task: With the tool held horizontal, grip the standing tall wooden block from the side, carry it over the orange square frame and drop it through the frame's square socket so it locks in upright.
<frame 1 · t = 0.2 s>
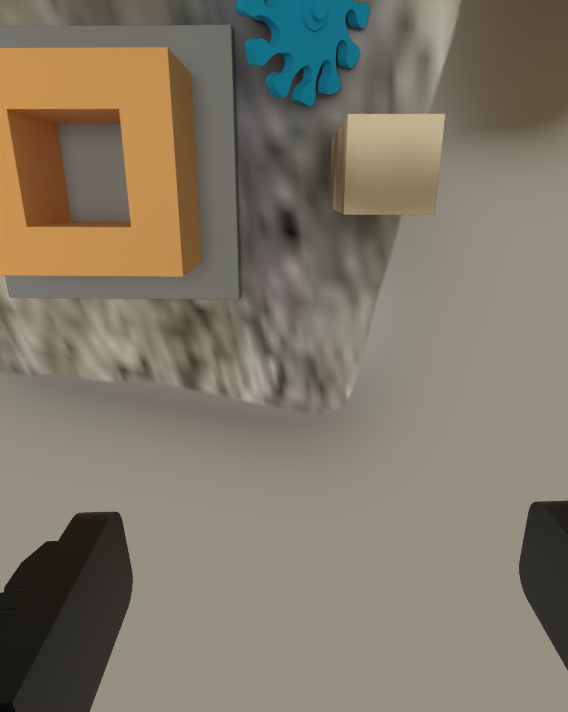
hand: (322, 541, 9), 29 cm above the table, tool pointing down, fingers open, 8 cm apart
orange square frame: (114, 174, 34), on the table
gear: (309, 22, 31), on the table
tall wooden block: (361, 175, 34), on the table
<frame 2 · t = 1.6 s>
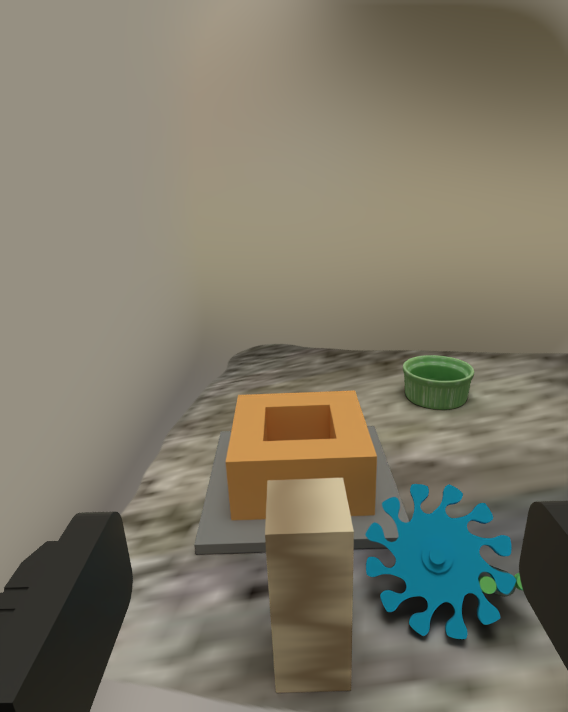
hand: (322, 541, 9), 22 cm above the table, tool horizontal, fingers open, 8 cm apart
orange square frame: (300, 483, 47), on the table
gear: (440, 600, 34), on the table
ramekin: (435, 398, 64), on the table
tall wooden block: (311, 655, 30), on the table
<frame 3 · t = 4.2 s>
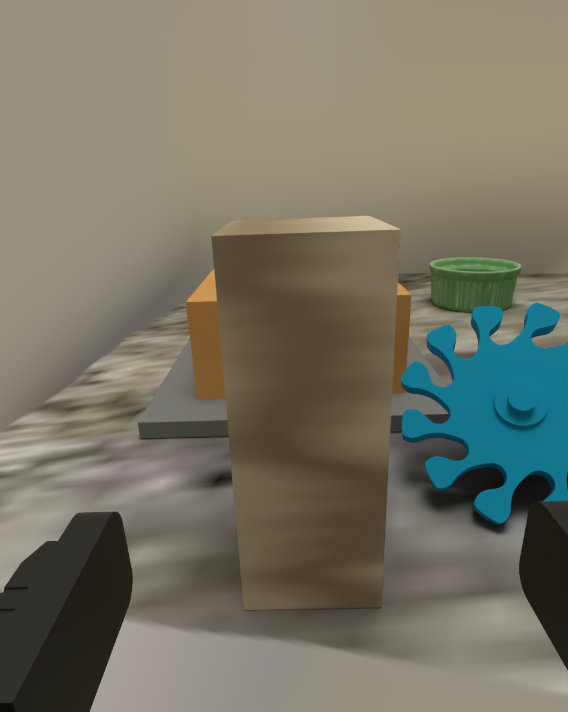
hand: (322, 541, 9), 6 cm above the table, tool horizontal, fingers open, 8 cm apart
orange square frame: (298, 371, 34), on the table
gear: (518, 487, 21), on the table
ramekin: (469, 306, 51), on the table
tall wooden block: (309, 557, 17), on the table
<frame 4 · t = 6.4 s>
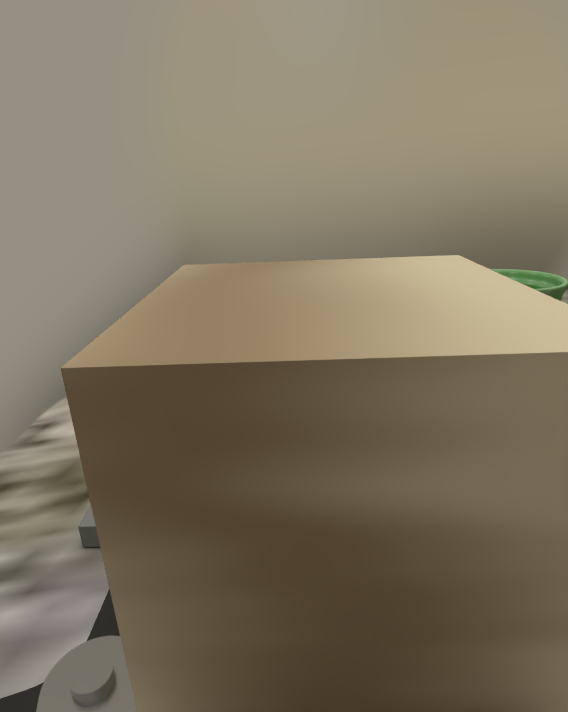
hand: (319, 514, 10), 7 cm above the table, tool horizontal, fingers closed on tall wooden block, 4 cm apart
orange square frame: (304, 426, 27), on the table
ramekin: (503, 327, 43), on the table
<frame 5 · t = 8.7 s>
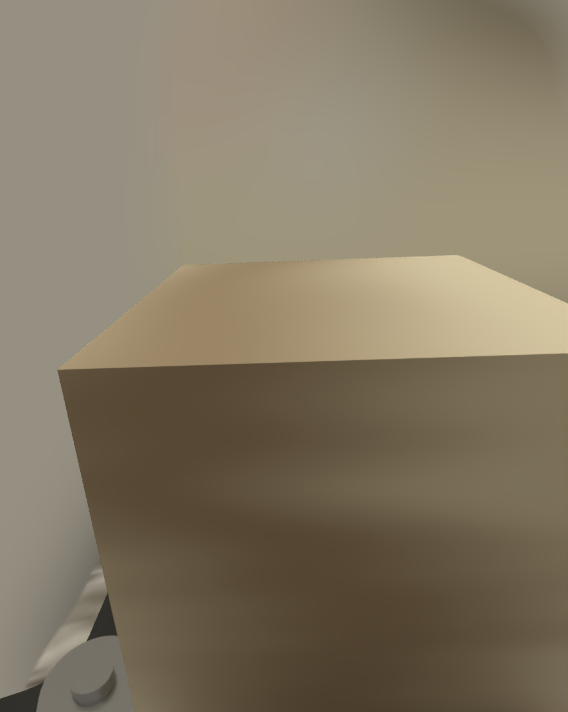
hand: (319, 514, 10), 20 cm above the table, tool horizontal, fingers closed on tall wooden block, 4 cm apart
when the fingers open (15 cm above the table, at t = 11.2 s): tall wooden block drops 7 cm, resting on orange square frame.
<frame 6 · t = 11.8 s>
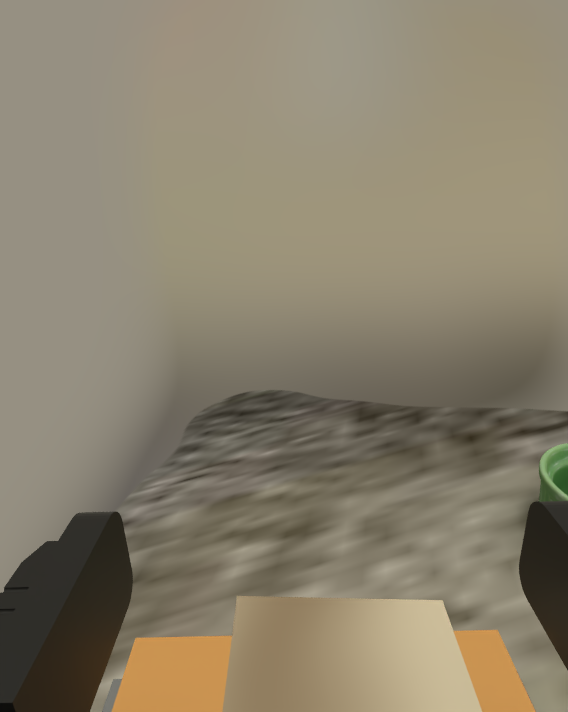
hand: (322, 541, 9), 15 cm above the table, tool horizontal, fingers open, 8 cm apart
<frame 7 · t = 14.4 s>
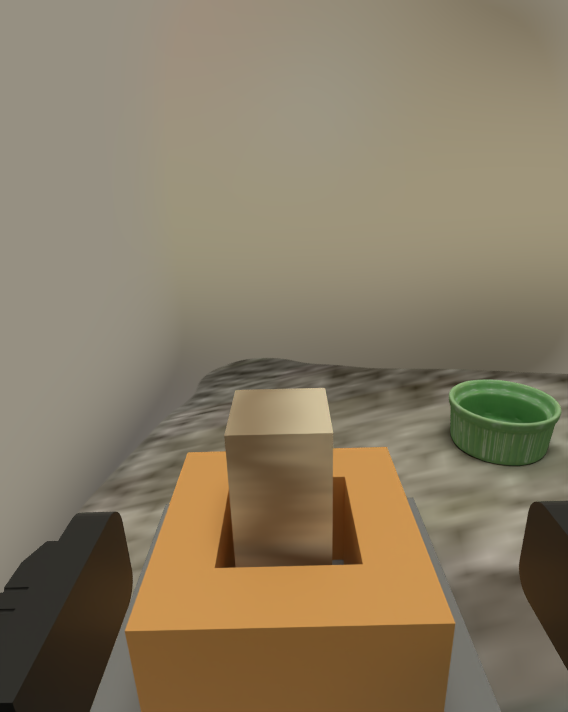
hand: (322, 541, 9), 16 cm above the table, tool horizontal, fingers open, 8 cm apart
orange square frame: (291, 619, 26), on the table
ramekin: (496, 444, 43), on the table
tall wooden block: (287, 605, 26), point 1 cm above the table, touching orange square frame
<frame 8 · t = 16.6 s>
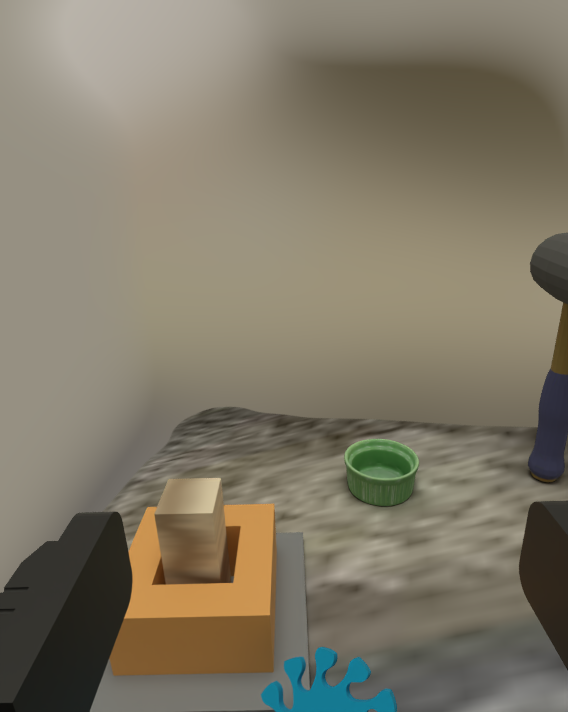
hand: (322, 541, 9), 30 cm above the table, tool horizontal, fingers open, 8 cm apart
orange square frame: (207, 613, 43), on the table
ramekin: (379, 488, 59), on the table
rubber mallet: (543, 478, 60), on the table
tall wooden block: (203, 605, 42), point 1 cm above the table, touching orange square frame
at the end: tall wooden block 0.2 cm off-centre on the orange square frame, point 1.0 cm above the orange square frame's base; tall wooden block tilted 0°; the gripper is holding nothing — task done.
